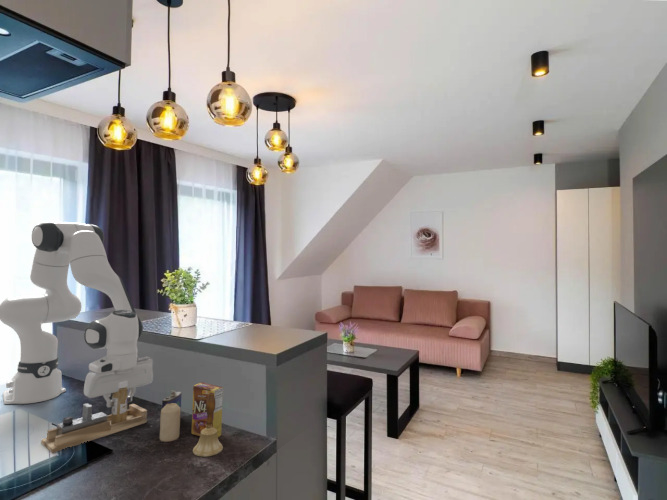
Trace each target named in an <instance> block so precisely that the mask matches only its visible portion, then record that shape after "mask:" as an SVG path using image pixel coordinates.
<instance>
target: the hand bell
mask: <svg viewBox="0 0 667 500" xmlns="http://www.w3.org/2000/svg"><path fill="white" fill-rule="evenodd" d="M214 410H215V397H214V393H209V396H208V399H207V402H206V411H207V423H206V428H205V429H203V430H202V431H201V434H200V436H199V438H198V442H197V444H196V445H195V446H194V447H193V449H192V454H193V455H195V456H198V457H203V458H204V457H205V458H206V457H213V456H215V455H218V454H219V453H221V452H222V451H223V449H224V447H223V444H222V443H221V442H220V441H219V437H217V430H216V429H215V428H213V427H212V424H213V413H214Z"/></svg>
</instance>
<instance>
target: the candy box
mask: <svg viewBox="0 0 667 500" xmlns="http://www.w3.org/2000/svg"><path fill="white" fill-rule="evenodd" d="M209 393H214V397H215V410H214V413H213V424H212V427H213V428H215V429H216V430H217V437H218V438H220V437H221V436H222V424H223V423H222V420H223V400H224V386H220V385H215V384H211V383H206V382H204V381H202V382H199V383H197V384H194V385H193V388H192V408H191V409H192V412H191V413H192V415H191V434H192V435H194V436H198V437H200V434H201V431H202V430H203V429H205V428H206V423H207V411H206V402H207V399H208V396H209Z"/></svg>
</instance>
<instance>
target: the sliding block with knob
mask: <svg viewBox="0 0 667 500" xmlns="http://www.w3.org/2000/svg"><path fill="white" fill-rule="evenodd" d="M107 417H108V414H106V413H104V412H103V411H101V412H97V413H94V414H93V405H92V404H90V403H88V402H87V403H82V416H81V417H79V418H74V417H73V416H66V417H64V418H63V419H62V422H60V423H57V424H56V428H57V433H56V436H58V435H62V434H65V433H69V432H72V431H75V430H79V429H82V428H85V427H89V426H92V425H96V424H99V423H102V422H106V421H107Z"/></svg>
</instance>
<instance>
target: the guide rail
mask: <svg viewBox="0 0 667 500" xmlns="http://www.w3.org/2000/svg"><path fill="white" fill-rule="evenodd" d="M107 415H108V414H107ZM147 416H148V410H147V409H146V408H143V407H141V406H139V405H137V404H135V403H131V404H129V405H128V408H127V417H126V418H127V420H125V421H122V422H119V423H115V424H111V421H112V413H111V414H109V415H108V417H107V421H106V422H102V423H99V424H96V425H92V426H89V427H85V428H82V429H79V430H75V431H72V432H69V433H65V434H62V435H58V436H56V433H57V427H55V428H51V429H47V430H46V431H47V432H46V437H45V438H42V439H41V440H40V443H41V444H42V445H43V446H44V447H45V448H46V449H48V451H50V452H51V454H54V453H57V452H60V451H63V450H62V449H64V450H66V449H65V448H67V447H70V448H73V447H75V446H79V445H82V444H85V443H88V442H90V441H94V440H97V439H101V438H103V437H106V436H110V435H112V434H116V433H120V432H122V431H125V430H129V429H131V428H134V427H137V426H141V425H144V424H145V423H148V422H147V418H148V417H147ZM87 441H88V442H87ZM84 442H85V443H84ZM81 443H82V444H81ZM72 446H73V447H72ZM67 449H68V448H67Z"/></svg>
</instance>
